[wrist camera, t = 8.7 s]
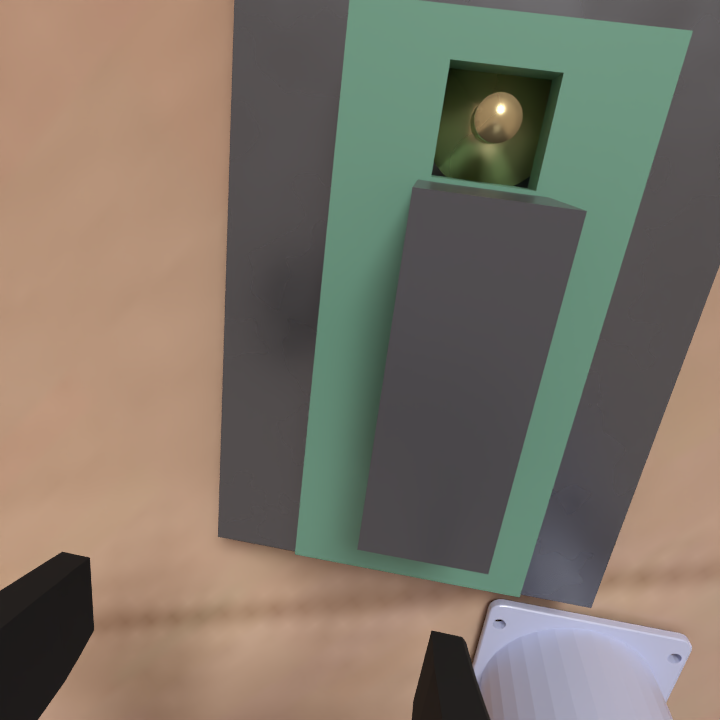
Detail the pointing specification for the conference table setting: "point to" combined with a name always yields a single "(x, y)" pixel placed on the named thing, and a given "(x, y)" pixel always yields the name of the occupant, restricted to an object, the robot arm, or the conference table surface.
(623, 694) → the robot arm
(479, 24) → the board
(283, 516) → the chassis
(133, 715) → the conference table surface
